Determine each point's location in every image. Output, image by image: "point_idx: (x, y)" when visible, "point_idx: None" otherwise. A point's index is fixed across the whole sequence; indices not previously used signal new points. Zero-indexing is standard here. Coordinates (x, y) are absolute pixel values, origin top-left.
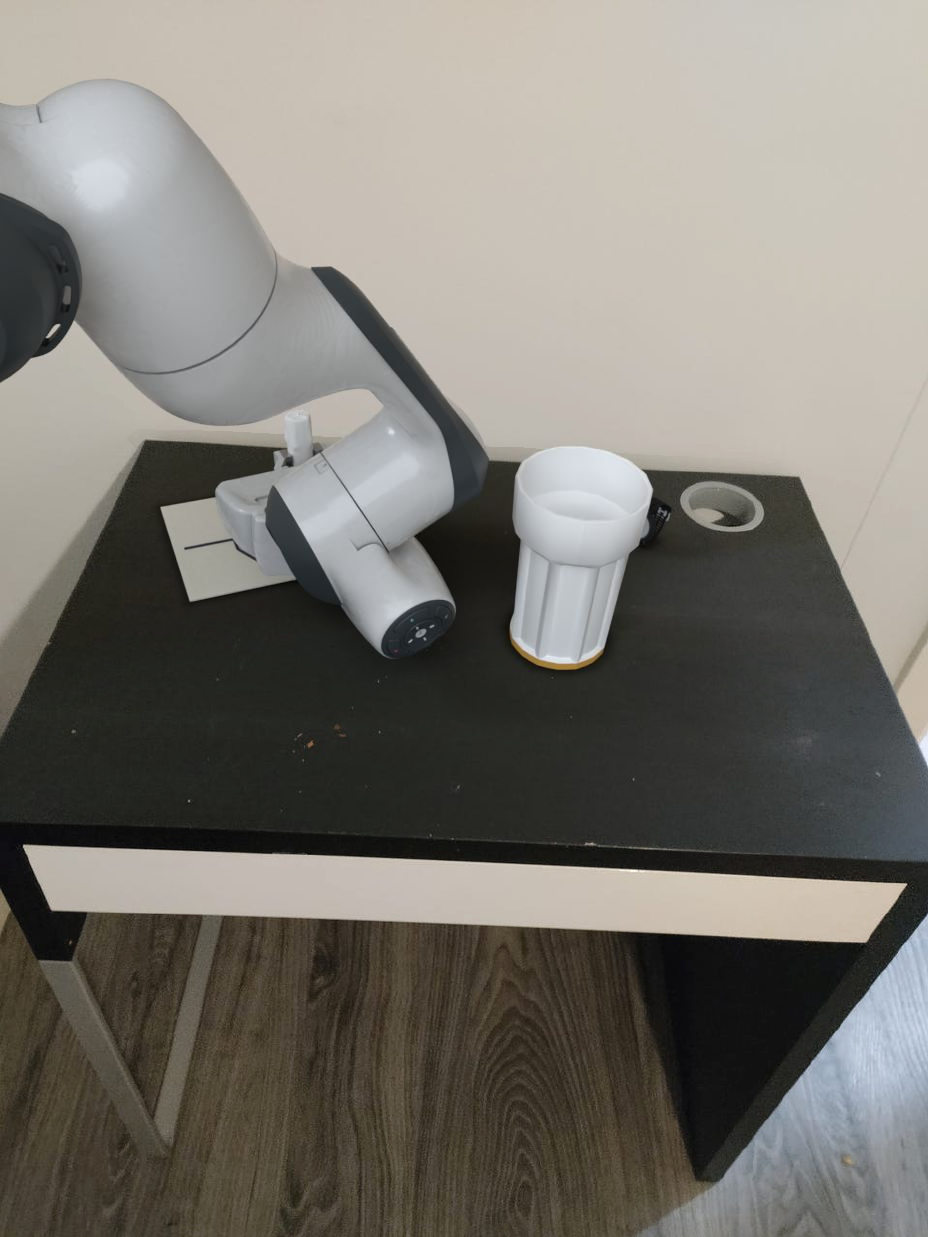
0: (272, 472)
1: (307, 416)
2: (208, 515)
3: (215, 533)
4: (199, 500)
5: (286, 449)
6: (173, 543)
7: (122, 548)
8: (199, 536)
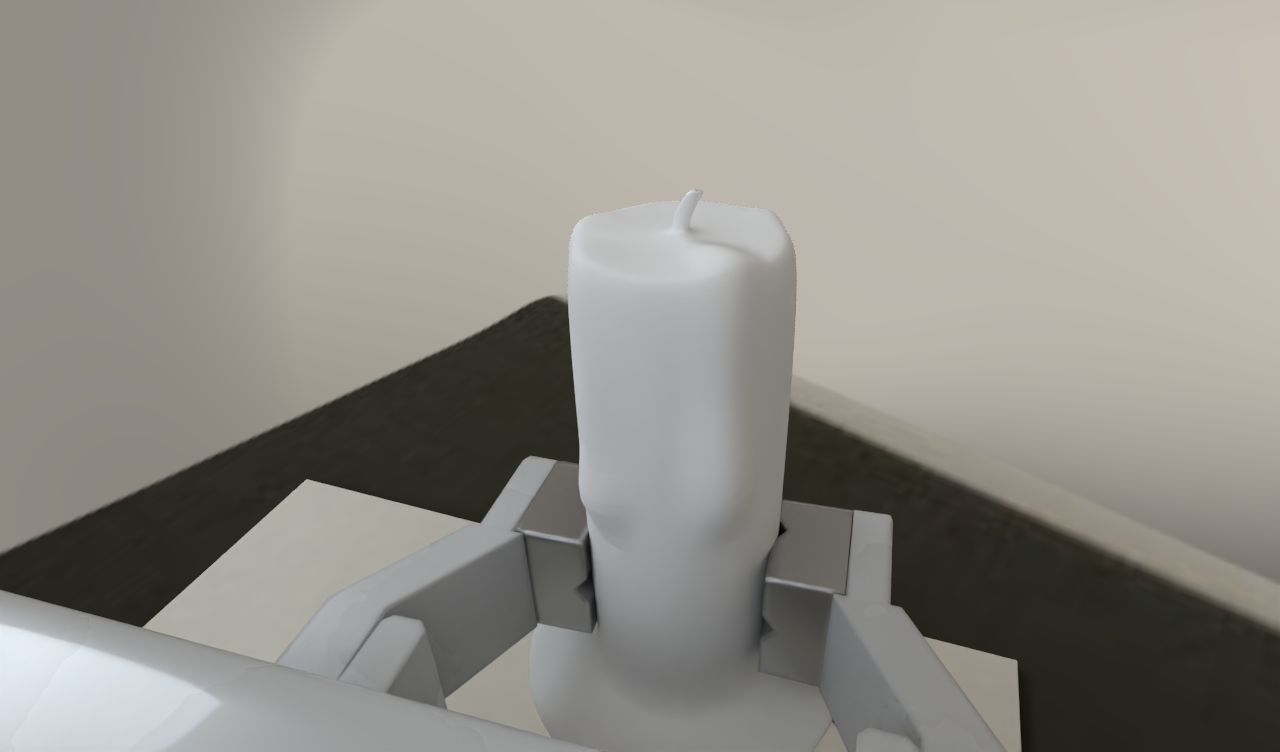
0: (133, 669)
1: (733, 262)
2: None
3: None
4: (418, 509)
5: None
6: None
7: (26, 580)
8: None
